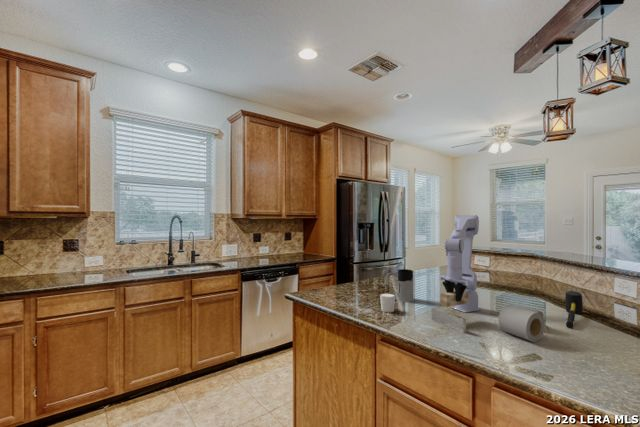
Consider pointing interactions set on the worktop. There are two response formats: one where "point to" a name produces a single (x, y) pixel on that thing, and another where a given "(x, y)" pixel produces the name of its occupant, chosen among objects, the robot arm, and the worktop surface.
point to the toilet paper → (522, 323)
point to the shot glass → (387, 302)
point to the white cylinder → (530, 309)
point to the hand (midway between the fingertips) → (454, 299)
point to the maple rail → (452, 299)
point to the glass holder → (404, 285)
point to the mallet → (573, 306)
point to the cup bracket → (448, 319)
